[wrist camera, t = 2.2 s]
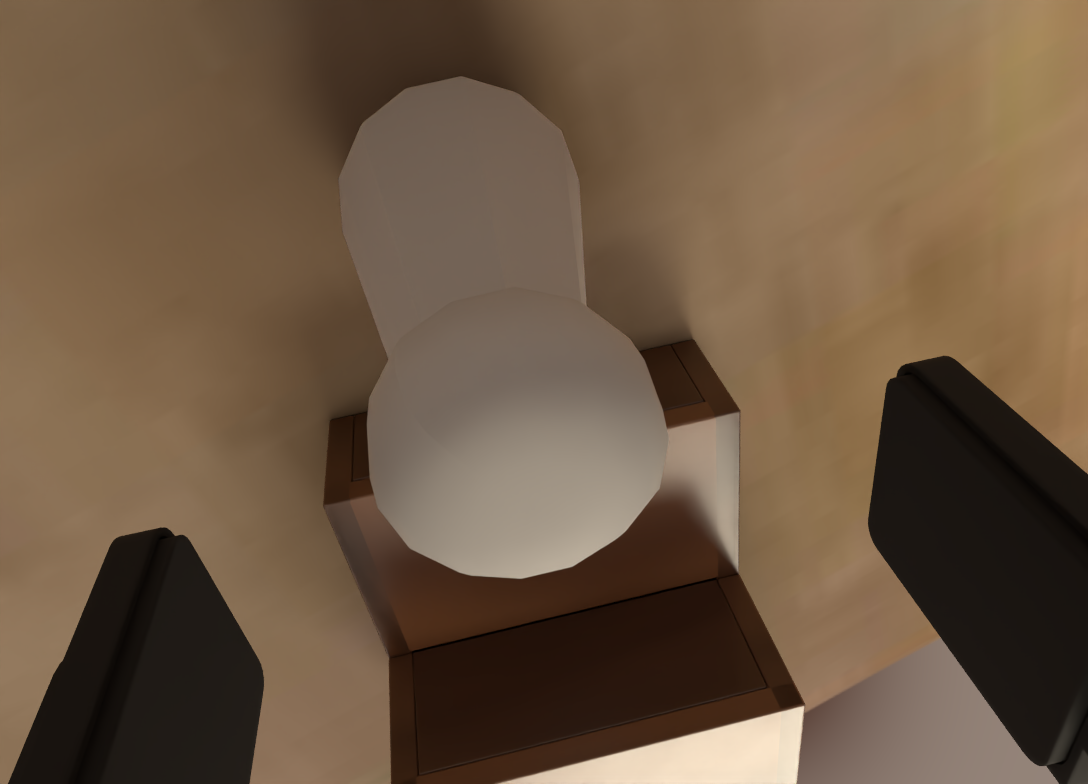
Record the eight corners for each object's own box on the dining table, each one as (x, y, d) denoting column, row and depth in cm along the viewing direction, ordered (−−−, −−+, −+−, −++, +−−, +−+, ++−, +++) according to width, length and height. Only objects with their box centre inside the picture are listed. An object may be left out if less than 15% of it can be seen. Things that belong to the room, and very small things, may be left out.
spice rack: (328, 419, 25) (305, 725, 16) (694, 338, 25) (858, 588, 17) (439, 703, 34) (462, 991, 25) (703, 638, 35) (811, 896, 26)
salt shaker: (543, 35, 19) (747, 256, 9) (573, 245, 23) (745, 586, 12) (310, 83, 19) (231, 373, 8) (375, 289, 22) (377, 680, 12)
